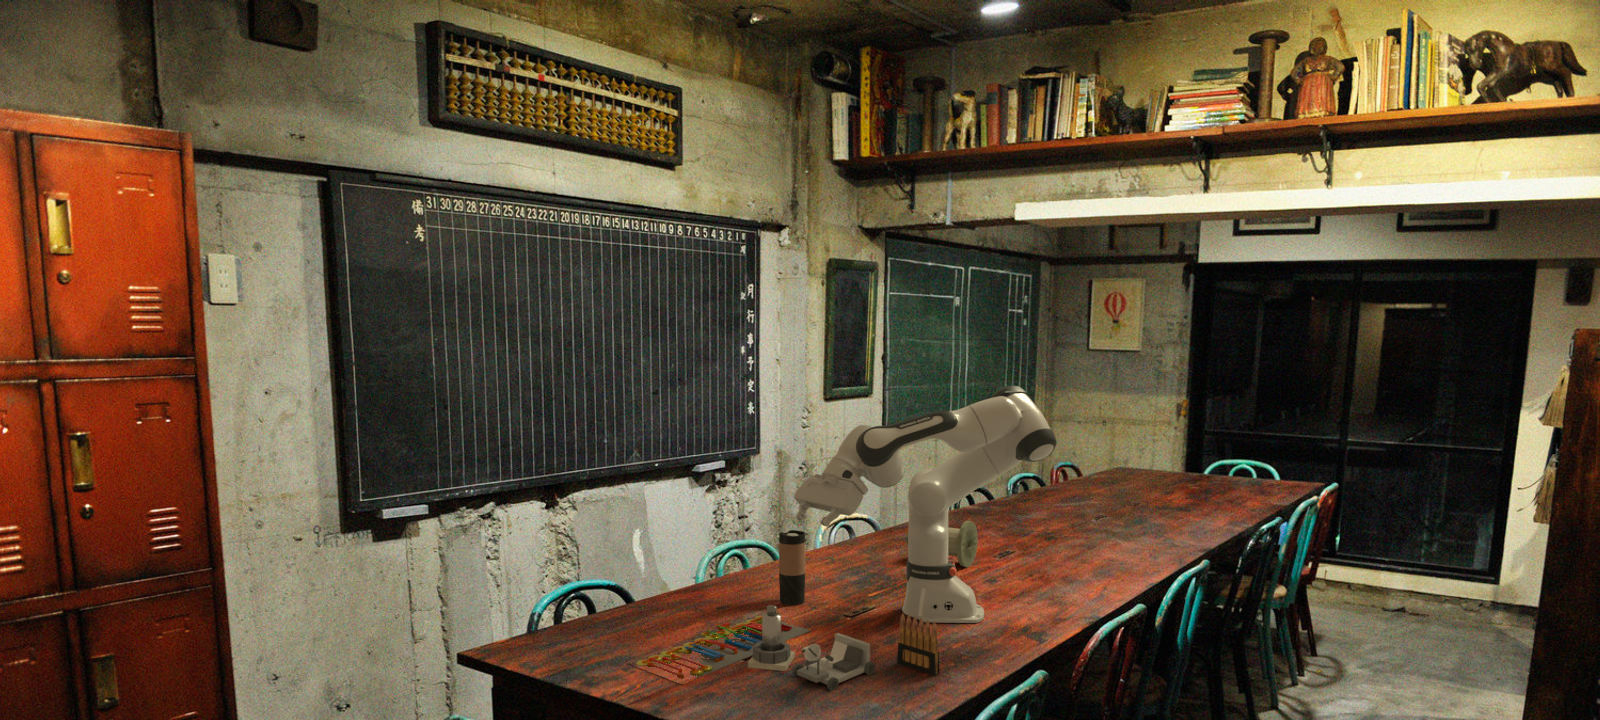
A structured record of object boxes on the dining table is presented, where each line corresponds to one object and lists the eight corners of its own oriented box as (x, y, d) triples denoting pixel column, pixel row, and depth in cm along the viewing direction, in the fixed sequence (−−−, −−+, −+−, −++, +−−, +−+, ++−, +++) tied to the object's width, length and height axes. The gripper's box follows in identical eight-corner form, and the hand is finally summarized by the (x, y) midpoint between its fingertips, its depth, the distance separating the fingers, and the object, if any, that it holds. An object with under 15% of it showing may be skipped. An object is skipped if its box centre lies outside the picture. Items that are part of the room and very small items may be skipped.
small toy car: (821, 652, 180) (783, 638, 188) (821, 697, 180) (783, 681, 189) (875, 631, 193) (838, 619, 201) (875, 673, 193) (838, 660, 201)
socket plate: (794, 656, 202) (794, 641, 202) (785, 671, 193) (785, 655, 193) (758, 653, 204) (758, 638, 204) (747, 667, 195) (747, 651, 195)
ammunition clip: (896, 663, 198) (897, 613, 198) (901, 661, 199) (901, 611, 199) (935, 676, 191) (935, 623, 190) (939, 673, 192) (940, 621, 192)
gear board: (756, 608, 232) (810, 623, 220) (756, 616, 233) (810, 632, 220) (626, 655, 198) (681, 676, 186) (626, 665, 198) (681, 687, 186)
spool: (977, 561, 288) (977, 517, 288) (961, 571, 275) (961, 526, 275) (932, 554, 297) (932, 512, 297) (914, 564, 284) (914, 520, 284)
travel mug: (802, 606, 239) (802, 536, 239) (776, 605, 241) (776, 535, 240) (807, 598, 247) (807, 530, 246) (782, 596, 248) (782, 529, 248)
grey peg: (781, 653, 201) (782, 603, 200) (779, 660, 196) (779, 609, 196) (763, 653, 201) (763, 603, 201) (761, 660, 197) (761, 609, 196)
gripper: (806, 466, 223) (778, 508, 217) (860, 475, 208) (831, 520, 202) (819, 481, 226) (791, 522, 220) (873, 490, 211) (845, 536, 205)
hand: (811, 521), depth 211 cm, fingers open, 8 cm apart
